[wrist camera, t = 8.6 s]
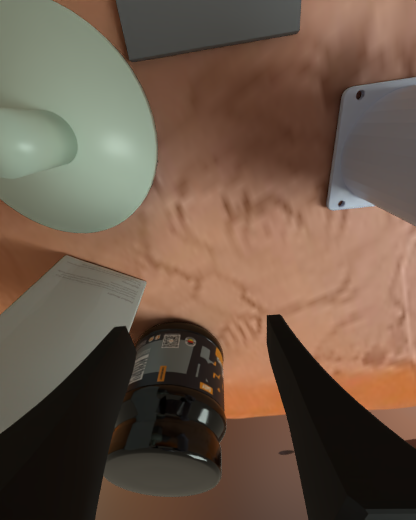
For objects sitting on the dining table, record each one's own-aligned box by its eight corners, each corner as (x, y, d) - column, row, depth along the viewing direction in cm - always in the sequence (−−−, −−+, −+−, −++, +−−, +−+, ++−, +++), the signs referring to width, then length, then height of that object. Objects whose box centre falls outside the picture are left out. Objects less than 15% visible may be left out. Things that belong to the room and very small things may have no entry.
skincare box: (60, 295, 24) (-111, 485, 12) (66, 249, 21) (-152, 435, 9) (137, 319, 26) (62, 510, 13) (153, 279, 23) (75, 475, 10)
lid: (135, -12, 10) (85, -97, 6) (170, 225, 16) (155, 258, 12) (-100, 10, 11) (-283, -55, 7) (15, 231, 16) (-48, 265, 12)
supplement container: (213, 378, 31) (212, 504, 21) (135, 367, 30) (95, 492, 20) (232, 325, 26) (244, 458, 16) (139, 310, 25) (86, 439, 15)
